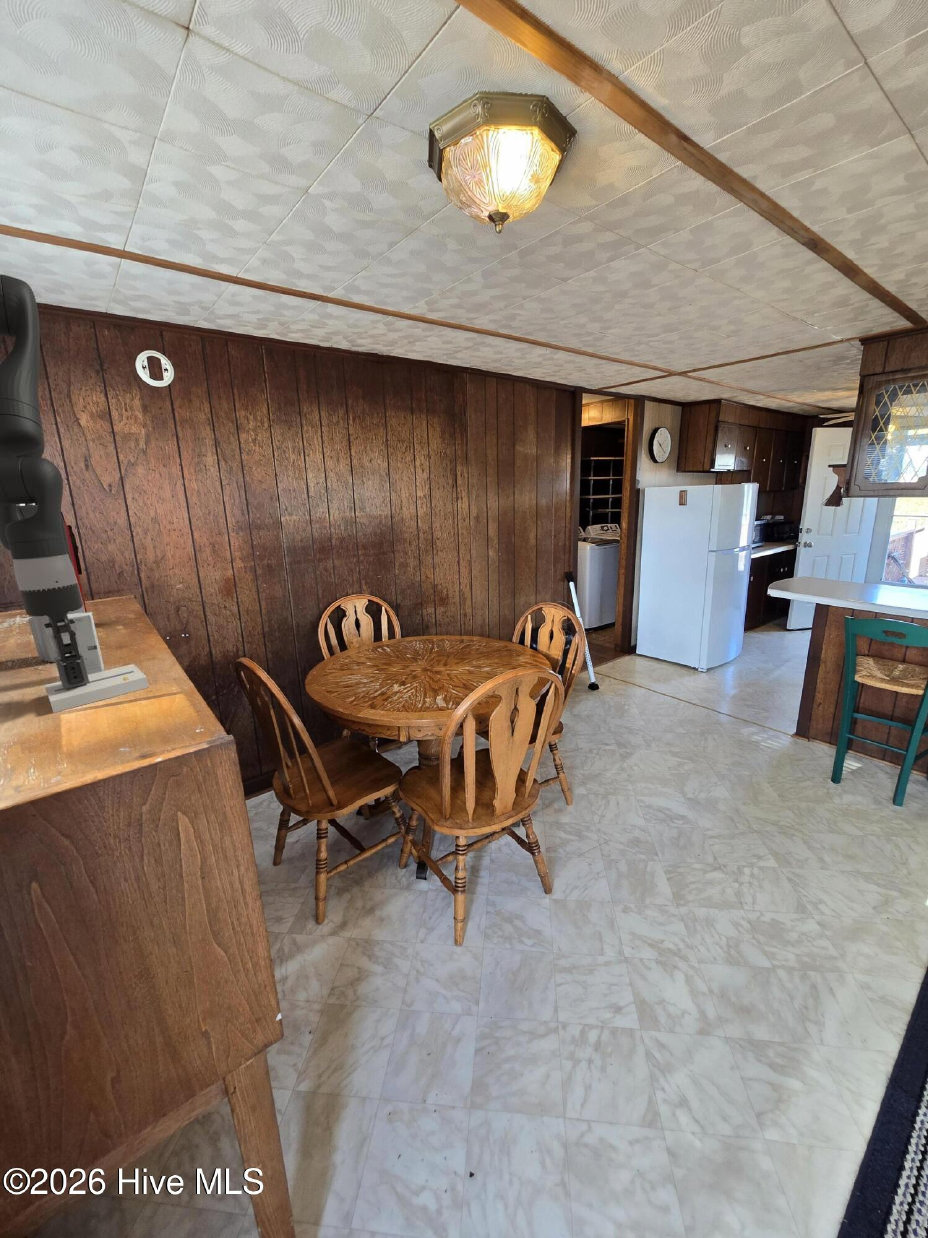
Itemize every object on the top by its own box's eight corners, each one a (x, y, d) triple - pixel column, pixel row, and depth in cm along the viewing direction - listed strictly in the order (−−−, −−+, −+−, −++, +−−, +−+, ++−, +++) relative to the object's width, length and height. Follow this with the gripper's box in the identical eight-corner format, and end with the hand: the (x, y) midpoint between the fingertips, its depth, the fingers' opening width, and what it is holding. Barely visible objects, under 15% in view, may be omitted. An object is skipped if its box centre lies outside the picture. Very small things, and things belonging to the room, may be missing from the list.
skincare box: (66, 681, 95) (49, 620, 92) (68, 674, 99) (52, 616, 96) (105, 673, 98) (89, 614, 95) (106, 667, 102) (91, 610, 99)
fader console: (53, 712, 80) (50, 701, 80) (47, 695, 88) (44, 684, 88) (149, 687, 89) (146, 676, 89) (135, 673, 97) (133, 663, 96)
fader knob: (63, 689, 84) (55, 660, 83) (61, 684, 86) (53, 657, 85) (89, 682, 86) (82, 655, 85) (87, 678, 88) (79, 651, 87)
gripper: (82, 584, 79) (108, 684, 84) (71, 576, 89) (95, 666, 94) (20, 592, 74) (51, 698, 79) (16, 583, 84) (44, 678, 89)
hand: (75, 680), depth 86 cm, fingers closed on fader knob, 3 cm apart
